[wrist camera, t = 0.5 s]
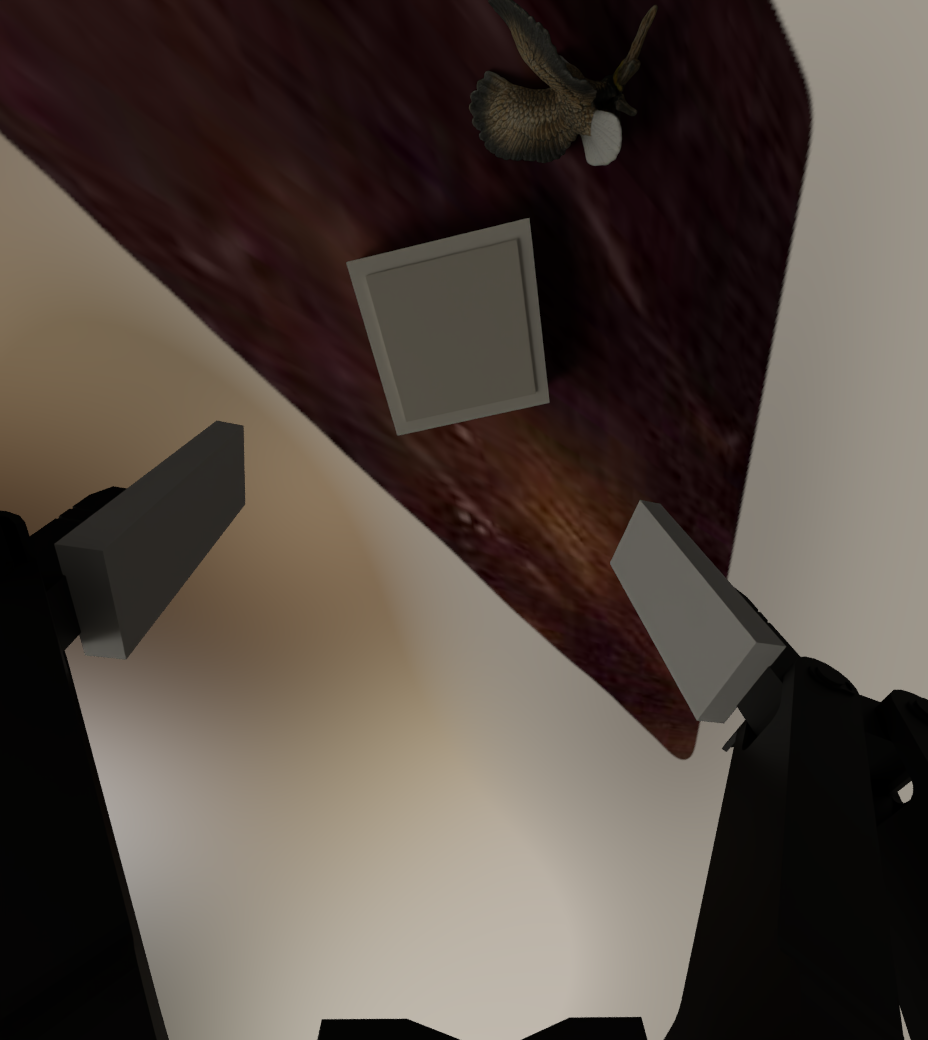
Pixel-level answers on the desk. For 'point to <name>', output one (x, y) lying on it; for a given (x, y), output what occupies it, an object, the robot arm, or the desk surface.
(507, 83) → the eagle figurine
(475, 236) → the tray
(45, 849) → the robot arm
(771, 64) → the desk surface
